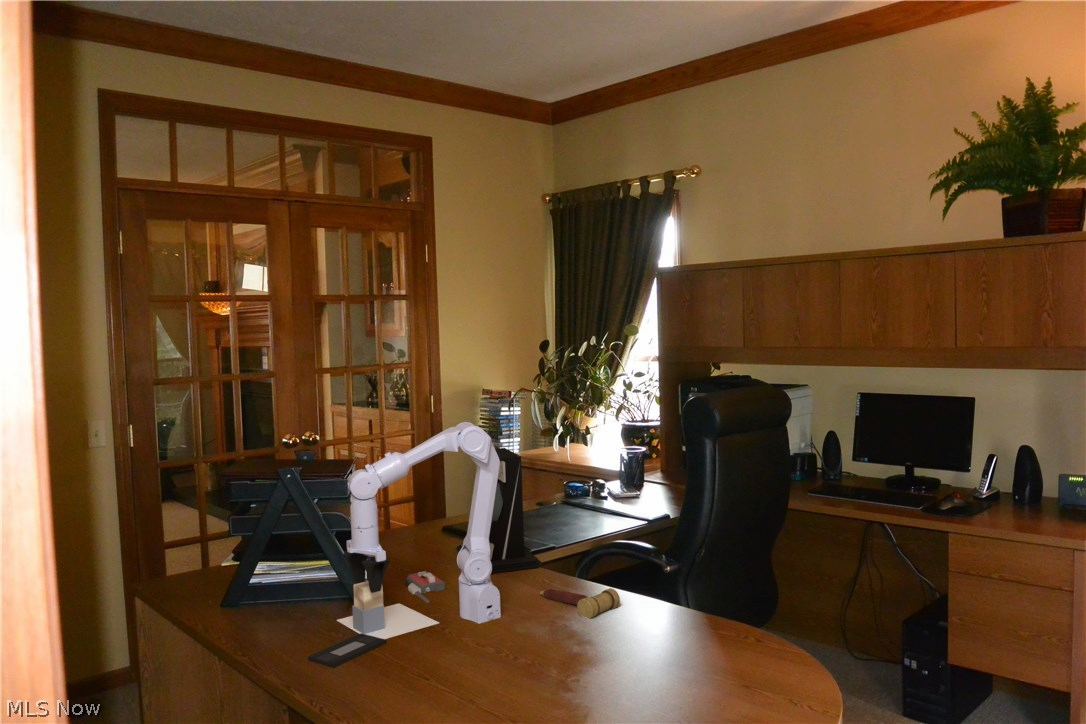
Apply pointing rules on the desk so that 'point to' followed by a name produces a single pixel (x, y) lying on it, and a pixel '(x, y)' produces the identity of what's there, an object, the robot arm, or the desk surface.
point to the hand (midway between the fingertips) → (367, 587)
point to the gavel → (586, 601)
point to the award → (508, 519)
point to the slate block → (368, 619)
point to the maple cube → (367, 596)
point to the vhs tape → (346, 650)
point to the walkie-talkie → (423, 584)
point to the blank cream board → (396, 621)
